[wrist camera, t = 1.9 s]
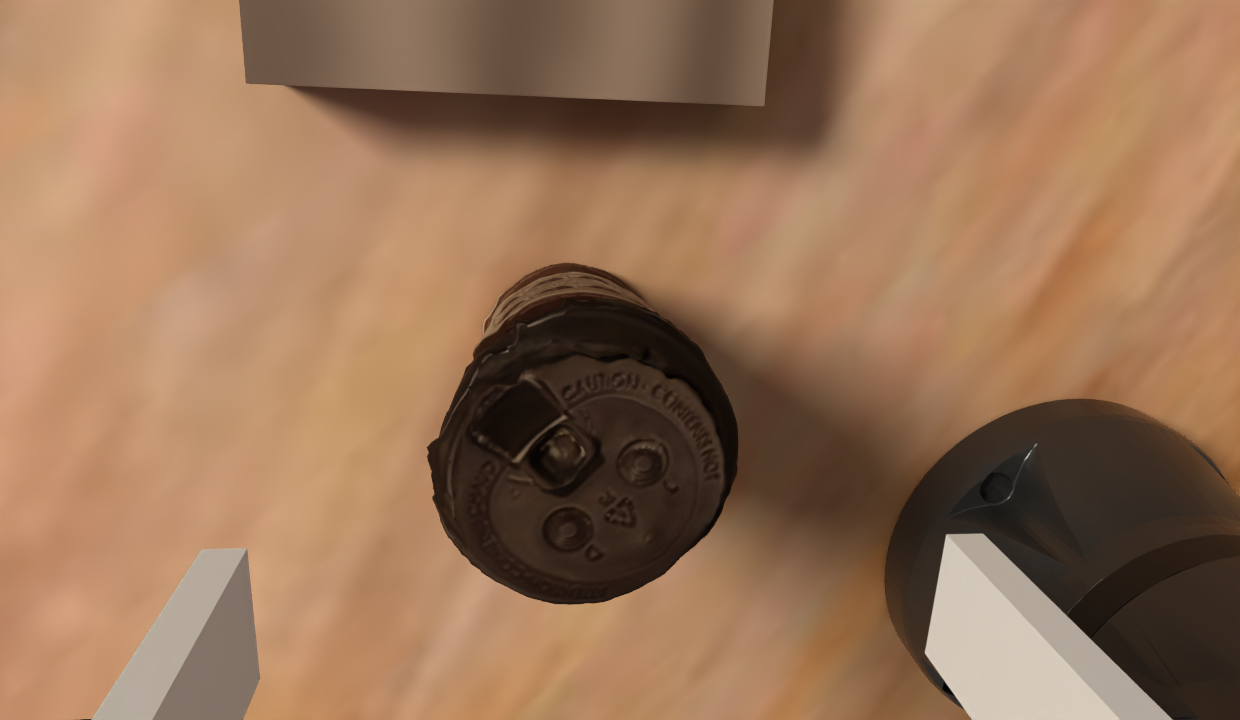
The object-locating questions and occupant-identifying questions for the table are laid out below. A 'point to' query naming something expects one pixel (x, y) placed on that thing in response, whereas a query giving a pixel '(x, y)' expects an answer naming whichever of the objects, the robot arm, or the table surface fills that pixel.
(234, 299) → the table surface
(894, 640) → the table surface
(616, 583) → the coffee cup
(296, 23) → the block
